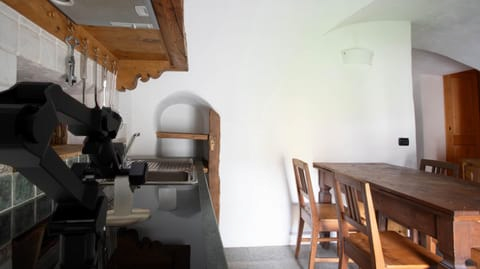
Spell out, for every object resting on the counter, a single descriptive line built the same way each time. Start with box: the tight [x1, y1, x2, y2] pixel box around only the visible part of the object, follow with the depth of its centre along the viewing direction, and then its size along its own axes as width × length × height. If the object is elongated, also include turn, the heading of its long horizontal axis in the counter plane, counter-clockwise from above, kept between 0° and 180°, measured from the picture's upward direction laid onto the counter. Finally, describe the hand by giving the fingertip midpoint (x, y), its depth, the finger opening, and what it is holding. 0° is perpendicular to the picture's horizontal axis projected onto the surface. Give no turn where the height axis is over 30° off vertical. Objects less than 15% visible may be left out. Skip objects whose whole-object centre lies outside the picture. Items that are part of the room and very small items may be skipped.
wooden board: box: [92, 207, 152, 227], centre depth 78 cm, size 16×16×1 cm
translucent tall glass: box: [113, 176, 134, 217], centre depth 79 cm, size 5×5×14 cm
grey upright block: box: [158, 186, 177, 212], centre depth 90 cm, size 6×6×7 cm
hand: (116, 191), depth 72 cm, fingers open, 9 cm apart
